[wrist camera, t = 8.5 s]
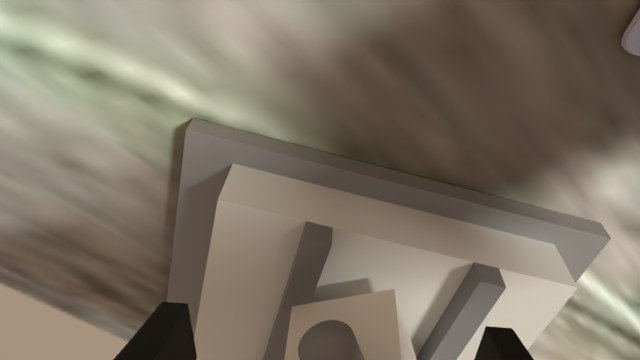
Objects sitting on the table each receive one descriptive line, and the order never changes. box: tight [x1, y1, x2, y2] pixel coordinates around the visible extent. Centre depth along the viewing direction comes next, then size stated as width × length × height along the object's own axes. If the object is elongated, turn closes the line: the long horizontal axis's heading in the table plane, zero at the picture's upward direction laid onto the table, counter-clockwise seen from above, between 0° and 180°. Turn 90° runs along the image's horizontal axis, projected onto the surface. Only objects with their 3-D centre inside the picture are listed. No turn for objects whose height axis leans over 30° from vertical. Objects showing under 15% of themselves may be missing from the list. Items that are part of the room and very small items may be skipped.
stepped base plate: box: [166, 118, 611, 360], centre depth 21 cm, size 18×12×4 cm, turn 75°
